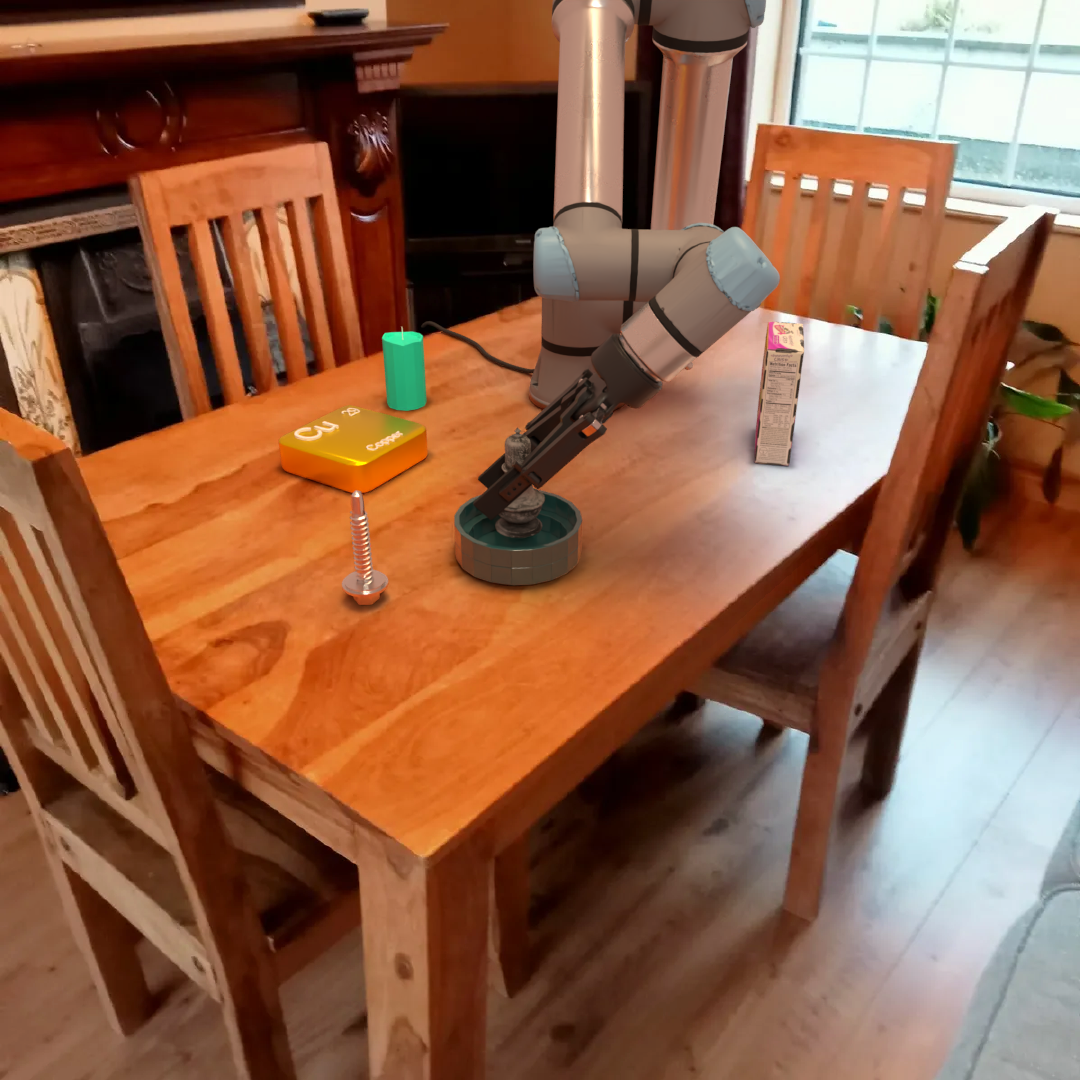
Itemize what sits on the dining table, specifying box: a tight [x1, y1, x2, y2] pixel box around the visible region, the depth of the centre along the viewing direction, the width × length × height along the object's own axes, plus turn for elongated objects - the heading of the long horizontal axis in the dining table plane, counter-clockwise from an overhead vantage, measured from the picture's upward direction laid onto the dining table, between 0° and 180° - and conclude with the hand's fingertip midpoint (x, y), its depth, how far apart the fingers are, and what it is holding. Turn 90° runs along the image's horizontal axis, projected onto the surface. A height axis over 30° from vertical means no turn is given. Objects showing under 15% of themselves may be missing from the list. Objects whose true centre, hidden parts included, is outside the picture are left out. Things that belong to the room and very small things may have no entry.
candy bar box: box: [754, 321, 805, 467], centre depth 136 cm, size 11×5×16 cm, turn 168°
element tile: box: [278, 404, 429, 494], centre depth 135 cm, size 15×15×5 cm
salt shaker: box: [495, 427, 545, 538], centre depth 110 cm, size 6×6×12 cm
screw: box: [341, 490, 389, 606], centre depth 104 cm, size 13×5×5 cm
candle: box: [381, 326, 428, 412], centre depth 151 cm, size 6×6×12 cm
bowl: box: [453, 489, 583, 586], centre depth 114 cm, size 14×14×5 cm
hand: (484, 498), depth 112 cm, fingers closed on salt shaker, 5 cm apart
